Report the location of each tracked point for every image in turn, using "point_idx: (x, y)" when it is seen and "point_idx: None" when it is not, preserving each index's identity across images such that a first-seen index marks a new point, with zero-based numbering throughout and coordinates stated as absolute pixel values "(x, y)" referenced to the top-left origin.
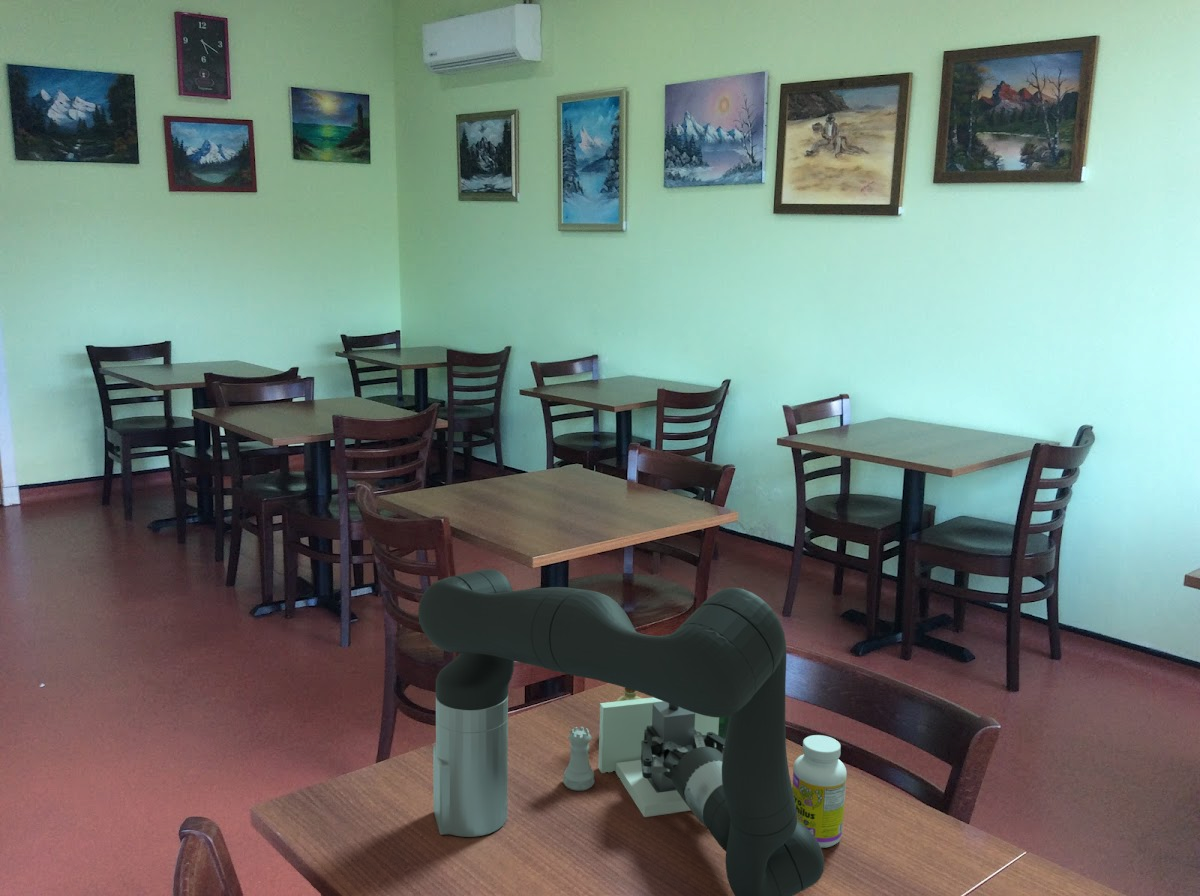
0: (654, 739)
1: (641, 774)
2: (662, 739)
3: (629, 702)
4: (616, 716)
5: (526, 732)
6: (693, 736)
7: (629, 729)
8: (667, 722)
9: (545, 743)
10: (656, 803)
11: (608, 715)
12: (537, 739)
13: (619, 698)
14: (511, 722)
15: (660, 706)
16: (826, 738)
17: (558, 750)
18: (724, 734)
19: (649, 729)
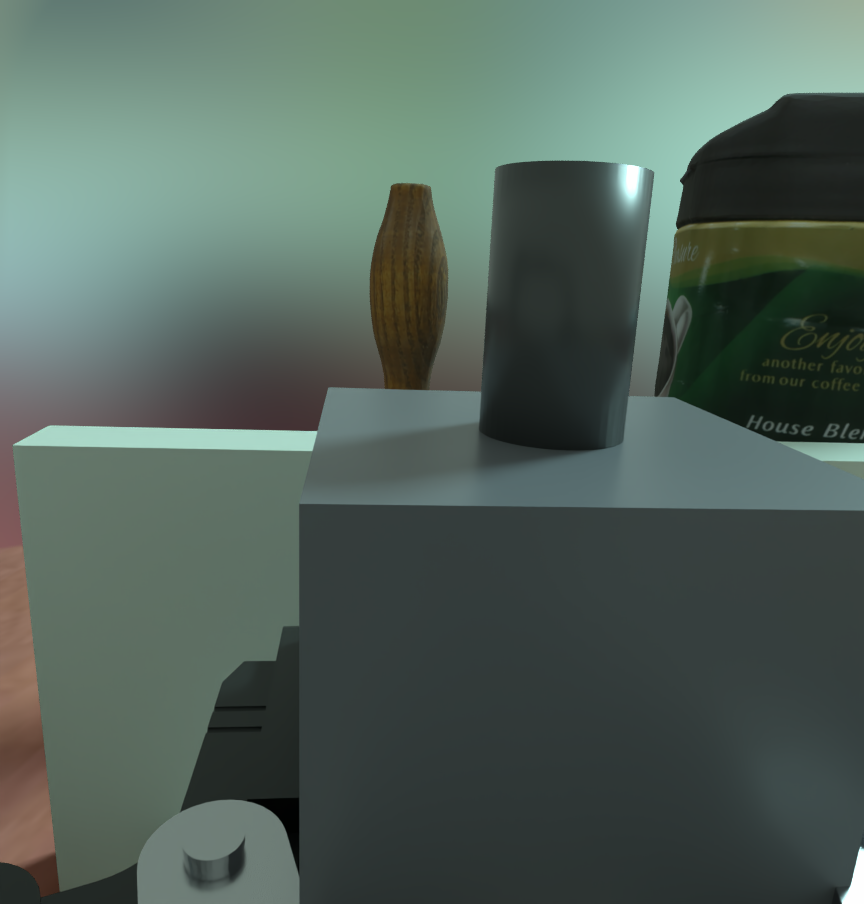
0: (158, 876)
1: None
2: (292, 896)
3: (254, 438)
4: (131, 525)
5: (14, 588)
6: (841, 895)
7: (244, 631)
8: (373, 619)
9: (17, 641)
10: None
11: (63, 510)
12: (12, 620)
13: None
14: (18, 550)
15: (388, 408)
16: None
17: (24, 683)
18: None
19: (275, 667)
